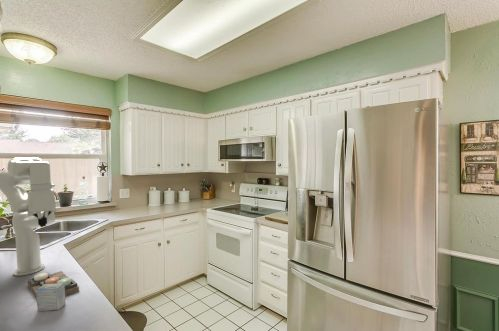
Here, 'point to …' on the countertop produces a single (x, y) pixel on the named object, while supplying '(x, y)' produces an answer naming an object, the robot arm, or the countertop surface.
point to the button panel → (61, 275)
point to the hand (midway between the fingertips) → (42, 226)
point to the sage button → (65, 281)
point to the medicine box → (50, 297)
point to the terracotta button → (52, 280)
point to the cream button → (40, 277)
